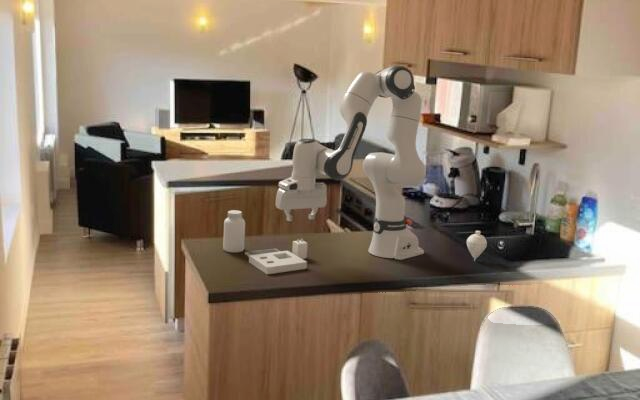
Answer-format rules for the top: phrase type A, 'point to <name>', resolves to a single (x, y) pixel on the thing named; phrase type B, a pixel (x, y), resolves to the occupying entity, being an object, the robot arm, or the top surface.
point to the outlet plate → (277, 262)
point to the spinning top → (476, 244)
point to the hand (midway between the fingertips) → (300, 219)
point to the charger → (300, 248)
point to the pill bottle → (234, 232)
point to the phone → (261, 252)
